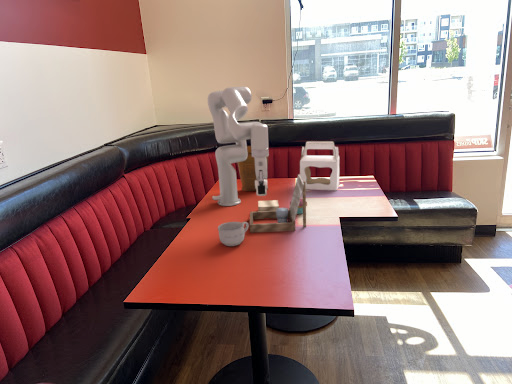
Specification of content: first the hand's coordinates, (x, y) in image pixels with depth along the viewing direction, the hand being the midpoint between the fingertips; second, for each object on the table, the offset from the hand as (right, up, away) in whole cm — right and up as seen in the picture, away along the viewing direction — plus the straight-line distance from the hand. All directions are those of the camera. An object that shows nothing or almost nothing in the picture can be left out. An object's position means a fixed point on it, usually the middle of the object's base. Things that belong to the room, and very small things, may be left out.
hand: (261, 191), depth 175 cm
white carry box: (+37, +3, +61) cm, 72 cm away
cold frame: (+7, -15, +4) cm, 17 cm away
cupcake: (+19, -11, +18) cm, 28 cm away
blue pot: (+10, -15, +5) cm, 18 cm away
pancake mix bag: (-3, +1, +61) cm, 61 cm away
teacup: (-11, -21, -14) cm, 28 cm away
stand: (+4, -11, +19) cm, 23 cm away
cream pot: (0, -1, 0) cm, 1 cm away
